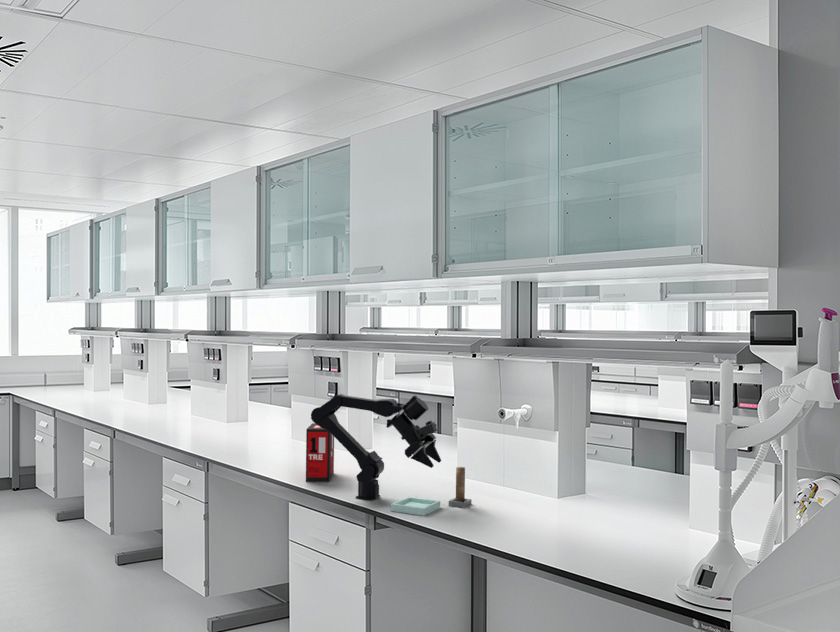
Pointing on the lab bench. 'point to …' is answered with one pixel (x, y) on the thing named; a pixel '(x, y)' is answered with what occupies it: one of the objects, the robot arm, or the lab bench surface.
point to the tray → (415, 506)
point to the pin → (460, 484)
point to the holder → (460, 503)
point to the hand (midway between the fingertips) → (436, 464)
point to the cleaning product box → (319, 454)
